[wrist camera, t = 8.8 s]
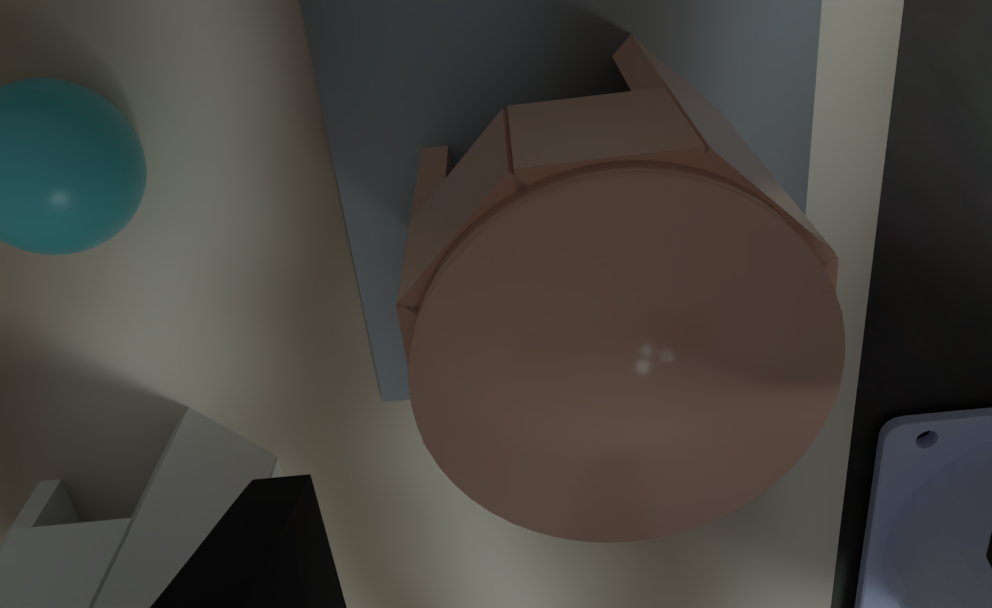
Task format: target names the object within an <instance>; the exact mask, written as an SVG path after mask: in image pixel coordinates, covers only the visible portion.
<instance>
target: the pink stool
mask: <svg viewBox="0 0 992 608" xmlns="http://www.w3.org/2000/svg"><path fill="white" fill-rule="evenodd" d="M612 57H613V59H614V61H615V63H616V64H617V66H618V68H619V70H620V72H621V73H622V75H623V77H624V79H625V81H626V82H627V84H628V86H629V88H630V90H631V91H629V92H620V93H612V94H603V95H594V96H586V97H577V98H569V99H560V100H552V101H543V102H535V103H526V104H518V105H509V106H507V110H508V112H507V111H505V110H504V109H503V108H502V109H501V111H500V112H499V113H498V114H497V116H496V117H495V118H494V119H493V121H492V122H491V123H490V124H489V125H488V127H487V128H486V129H485V130H484V132H483V133H482V134H481V135H480V137H479V138H478V139H477V140H476V141H475V143H474V144H473V145H472V146H471V148H470V149H469V150H468V151H467V153H466V154H465V155H464V156H463V157H462V159H461V160H460V161H459V162H458V164H457V165H456V166H455V167H454V169H453V170H452V169H451V162H450V155H449V148H448V146H440V147H432V148H423V149H422V150H421V156H420V162H419V168H418V174H417V181H416V187H415V193H414V199H413V206H412V212H411V218H410V224H409V231H408V237H407V243H406V249H405V255H404V262H403V268H402V274H401V280H400V287H399V293H398V299H397V305H396V309H397V314H398V319H399V324H400V329H401V334H402V339H403V344H404V350H405V355H406V360H407V365H408V370H409V379H408V383H409V392H410V400H411V407H412V410H413V414H414V418H415V421H416V425H417V428H418V430H419V432H420V435H421V437H422V442H423V445H426V449H428V451H429V452H430V454H431V455H432V457H433V459H434V460H435V462H436V463H437V465H438V466H439V468H440V469H441V470H442V471H443V472H444V473H445V474H446V476H447V477H448V478H449V479H450V480H451V481H452V482H453V484H454V485H455V486H457V487H458V488H459V489H460V490H461V491H462V492H463V493H465V494H466V495H467V496H468V497H469V498H470V499H471V500H473V501H474V502H476V503H477V504H479V505H480V506H482V507H483V508H485V509H486V510H488V511H489V512H491V513H493V514H495V515H497V516H499V517H501V518H503V519H505V520H506V521H508V522H510V523H512V524H515V525H518V526H520V527H523V528H526V529H529V530H531V531H534V532H537V533H541V534H545V535H549V536H553V537H557V538H562V539H569V540H576V541H583V542H603V543H613V542H634V541H640V540H647V539H654V538H660V537H664V536H668V535H672V534H677V533H681V532H684V531H687V530H690V529H693V528H696V527H699V526H702V525H705V524H707V523H710V522H712V521H714V520H716V519H718V518H721V517H723V516H725V515H727V514H729V513H731V512H733V511H735V510H736V509H738V508H740V507H742V506H743V505H745V504H747V503H748V502H750V501H752V500H753V499H755V498H756V497H757V496H759V495H760V494H762V493H763V492H764V491H766V490H767V489H768V488H770V487H771V486H772V485H774V484H775V483H776V482H777V481H778V480H779V479H780V478H781V477H782V476H784V475H785V474H786V473H787V472H788V471H789V470H790V469H791V468H792V467H793V466H794V465H795V464H796V463H797V461H798V460H799V459H800V458H801V457H802V456H803V454H804V453H805V452H806V451H807V450H808V449H809V447H810V446H811V444H812V443H813V441H814V440H815V438H816V437H817V435H818V434H819V432H820V431H821V429H822V428H823V426H824V424H825V422H826V420H827V418H828V416H829V414H830V412H831V410H832V408H833V405H834V402H835V399H836V396H837V393H838V390H839V387H840V384H841V379H842V374H843V368H844V362H845V330H844V323H843V316H842V311H841V307H840V304H839V301H838V298H837V295H836V284H837V273H838V262H839V259H838V257H837V256H836V255H837V254H836V253H835V251H834V250H833V249H832V248H831V247H830V245H829V244H828V243H827V242H826V240H825V239H824V238H823V237H822V235H821V234H820V233H819V232H818V231H817V229H816V228H815V227H814V226H813V224H812V223H811V222H810V221H809V220H808V218H807V217H806V216H805V215H804V213H803V212H802V211H801V210H800V208H799V207H798V206H797V205H796V204H795V202H794V201H793V200H792V199H791V197H790V196H789V195H788V194H787V193H786V191H785V190H784V189H783V188H782V186H781V185H780V184H779V183H778V181H777V180H776V179H775V178H774V177H773V175H772V174H771V173H770V172H769V170H768V169H767V168H766V167H765V166H764V164H763V163H762V162H761V161H760V159H759V158H758V157H757V156H756V154H755V153H754V152H753V151H752V150H751V148H750V147H749V146H748V145H747V143H746V142H745V141H744V140H743V139H742V137H741V136H740V135H739V134H738V132H737V131H736V130H735V129H734V127H733V126H732V125H731V124H730V123H729V121H728V120H727V119H726V118H725V116H724V115H723V114H722V113H721V112H720V110H718V109H717V108H716V107H715V106H714V105H713V104H712V103H710V102H709V101H708V100H707V99H706V98H705V97H703V96H702V95H701V94H700V93H699V92H698V91H697V90H695V89H694V88H693V87H692V86H691V85H690V84H688V83H687V82H686V81H685V80H684V79H683V78H682V77H680V76H679V75H678V74H677V73H676V72H675V71H673V70H672V69H671V68H670V67H669V66H668V65H667V64H665V63H664V62H663V61H662V60H661V59H660V58H658V57H657V56H656V55H655V54H654V53H653V52H651V51H650V50H649V49H648V48H647V47H646V46H645V45H643V44H642V43H641V42H640V41H639V40H638V39H636V38H635V37H634V36H633V35H632V34H630V36H629V37H628V38H627V39H626V40H625V41H624V43H623V44H622V45H621V46H620V47H619V48H618V50H617V51H616V52H615V53H614V54H613V56H612Z"/></svg>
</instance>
